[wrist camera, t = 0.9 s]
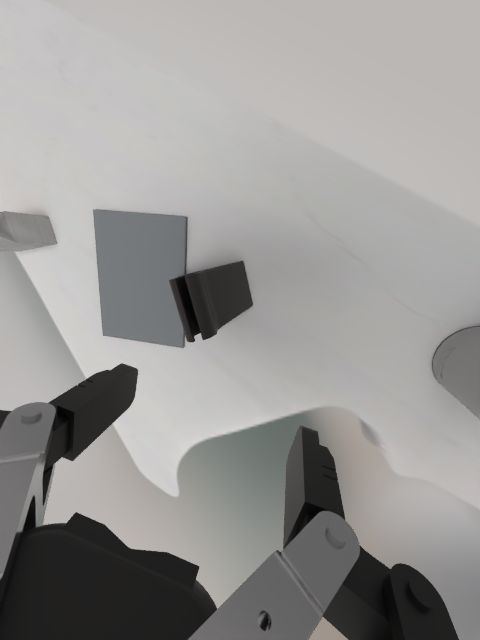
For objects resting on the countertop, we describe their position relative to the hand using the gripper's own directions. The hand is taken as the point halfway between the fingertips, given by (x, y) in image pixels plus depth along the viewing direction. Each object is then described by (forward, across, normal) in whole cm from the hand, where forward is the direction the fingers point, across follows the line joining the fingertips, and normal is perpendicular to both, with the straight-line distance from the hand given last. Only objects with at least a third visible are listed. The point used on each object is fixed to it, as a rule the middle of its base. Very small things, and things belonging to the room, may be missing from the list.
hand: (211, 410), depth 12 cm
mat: (+23, +18, +1) cm, 29 cm away
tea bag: (+22, +35, -1) cm, 42 cm away
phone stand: (+23, +7, 0) cm, 24 cm away
